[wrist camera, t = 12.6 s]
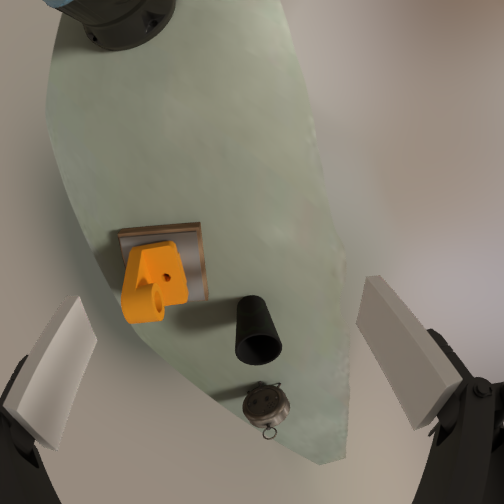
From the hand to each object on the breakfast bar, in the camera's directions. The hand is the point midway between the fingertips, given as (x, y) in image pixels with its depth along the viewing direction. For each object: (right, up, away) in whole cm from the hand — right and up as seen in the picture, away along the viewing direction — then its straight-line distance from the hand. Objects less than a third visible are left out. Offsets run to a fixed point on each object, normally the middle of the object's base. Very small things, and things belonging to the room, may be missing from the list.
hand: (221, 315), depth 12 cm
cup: (+1, -8, +43) cm, 44 cm away
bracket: (-14, 0, +34) cm, 37 cm away
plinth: (-14, +1, +37) cm, 39 cm away
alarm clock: (+4, -31, +55) cm, 63 cm away
